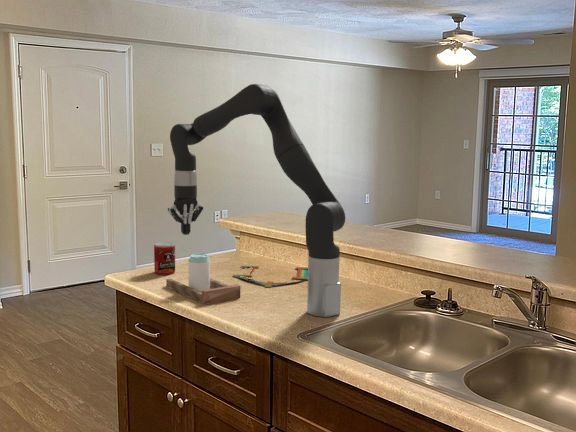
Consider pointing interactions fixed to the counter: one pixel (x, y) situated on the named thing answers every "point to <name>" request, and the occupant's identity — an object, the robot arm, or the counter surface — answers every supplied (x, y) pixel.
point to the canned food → (164, 258)
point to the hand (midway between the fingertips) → (185, 234)
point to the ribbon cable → (300, 275)
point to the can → (199, 272)
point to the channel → (207, 291)
